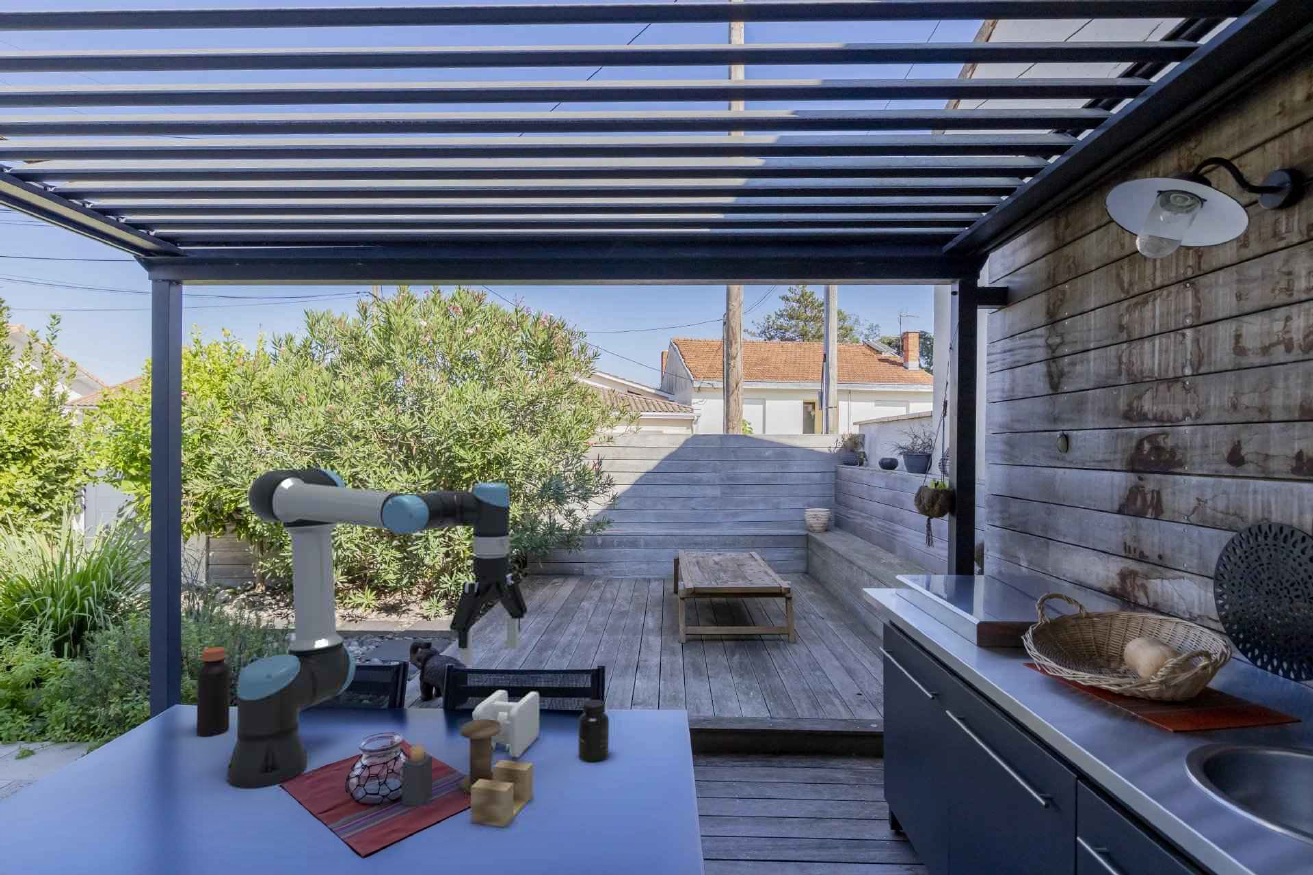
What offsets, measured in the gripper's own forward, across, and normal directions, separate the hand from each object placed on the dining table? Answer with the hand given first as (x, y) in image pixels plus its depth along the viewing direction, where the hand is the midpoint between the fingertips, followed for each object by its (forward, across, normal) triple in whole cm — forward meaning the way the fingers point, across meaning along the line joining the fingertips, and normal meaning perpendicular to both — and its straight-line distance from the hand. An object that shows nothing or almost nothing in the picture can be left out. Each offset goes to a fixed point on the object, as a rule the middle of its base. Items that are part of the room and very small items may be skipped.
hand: (490, 655), depth 153 cm
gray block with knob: (+26, -15, +4) cm, 30 cm away
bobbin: (+25, -4, -2) cm, 26 cm away
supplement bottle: (+26, +20, -13) cm, 35 cm away
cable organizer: (+26, +12, +7) cm, 29 cm away
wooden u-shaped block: (+25, -9, -13) cm, 30 cm away
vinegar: (+26, -19, +74) cm, 81 cm away
